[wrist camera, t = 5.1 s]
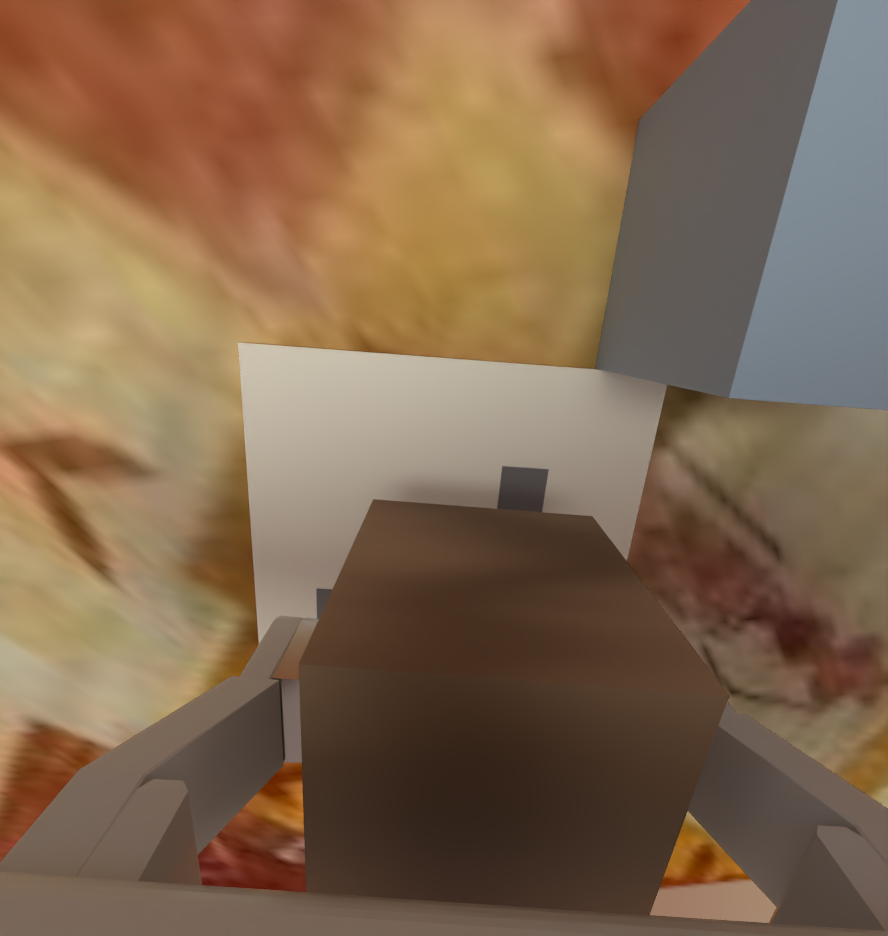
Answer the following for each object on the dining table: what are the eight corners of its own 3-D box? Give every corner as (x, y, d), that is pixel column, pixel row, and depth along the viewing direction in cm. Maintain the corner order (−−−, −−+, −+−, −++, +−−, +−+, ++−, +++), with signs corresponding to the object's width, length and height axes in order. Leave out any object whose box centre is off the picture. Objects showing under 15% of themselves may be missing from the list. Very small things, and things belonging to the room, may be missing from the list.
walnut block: (592, 516, 10) (729, 695, 5) (557, 689, 11) (636, 952, 6) (373, 499, 10) (298, 663, 5) (368, 675, 11) (307, 930, 6)
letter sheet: (663, 374, 12) (669, 375, 12) (590, 701, 16) (593, 708, 16) (242, 342, 12) (237, 342, 12) (265, 685, 15) (261, 692, 15)
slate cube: (870, 144, 11) (1361, -73, 5) (794, 383, 13) (1093, 425, 7) (637, 121, 11) (873, -131, 5) (594, 368, 12) (728, 398, 7)
